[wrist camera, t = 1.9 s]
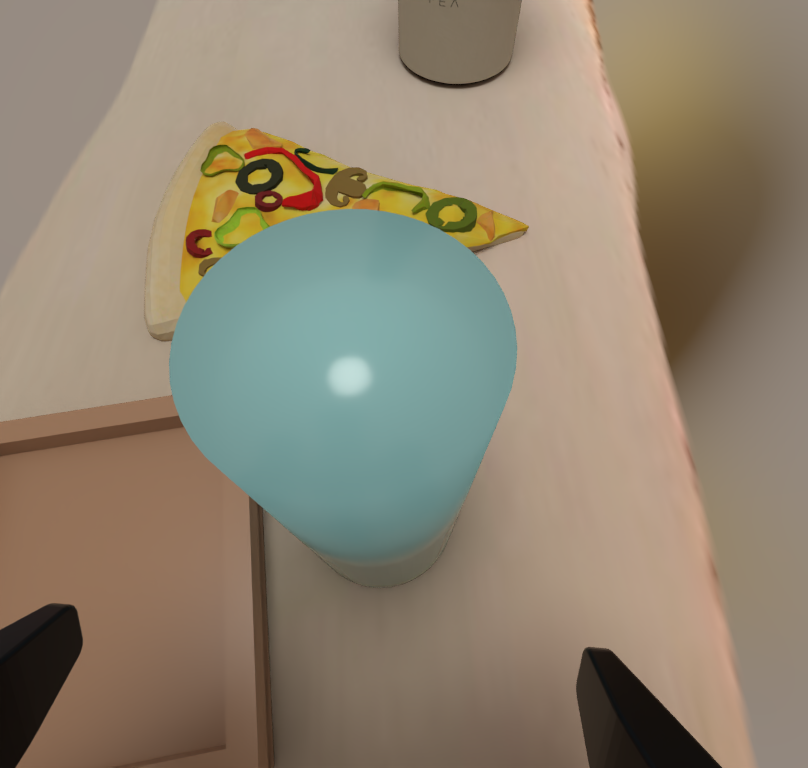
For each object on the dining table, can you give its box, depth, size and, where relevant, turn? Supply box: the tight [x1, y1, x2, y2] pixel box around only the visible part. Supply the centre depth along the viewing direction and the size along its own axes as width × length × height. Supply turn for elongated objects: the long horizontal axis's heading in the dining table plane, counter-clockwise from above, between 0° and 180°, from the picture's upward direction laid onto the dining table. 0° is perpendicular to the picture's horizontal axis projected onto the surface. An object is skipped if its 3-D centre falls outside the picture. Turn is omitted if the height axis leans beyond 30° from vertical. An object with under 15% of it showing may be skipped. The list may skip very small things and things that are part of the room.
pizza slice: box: [144, 122, 529, 341], centre depth 28 cm, size 16×21×3 cm
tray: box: [0, 395, 274, 768], centre depth 19 cm, size 14×12×2 cm
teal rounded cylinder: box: [169, 209, 517, 588], centre depth 15 cm, size 6×6×14 cm
